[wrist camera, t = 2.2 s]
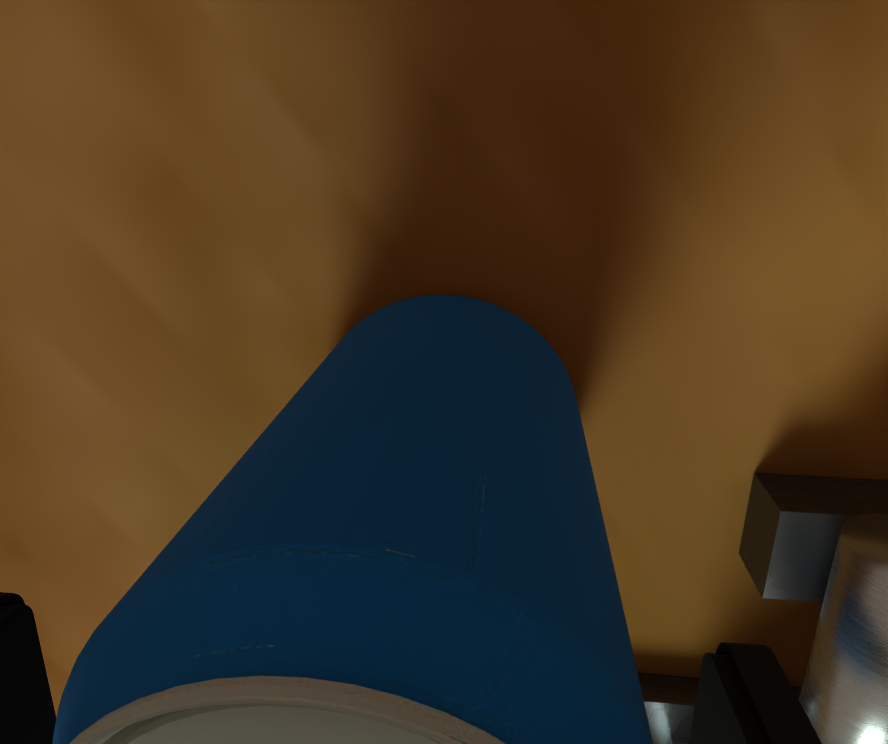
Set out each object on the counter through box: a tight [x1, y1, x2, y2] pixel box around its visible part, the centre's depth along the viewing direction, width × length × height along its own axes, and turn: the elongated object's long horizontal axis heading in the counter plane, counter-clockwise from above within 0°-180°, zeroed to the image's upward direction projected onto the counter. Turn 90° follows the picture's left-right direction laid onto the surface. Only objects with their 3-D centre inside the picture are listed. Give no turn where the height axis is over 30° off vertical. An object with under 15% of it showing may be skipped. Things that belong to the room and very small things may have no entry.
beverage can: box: [53, 295, 653, 744], centre depth 11 cm, size 6×6×12 cm
